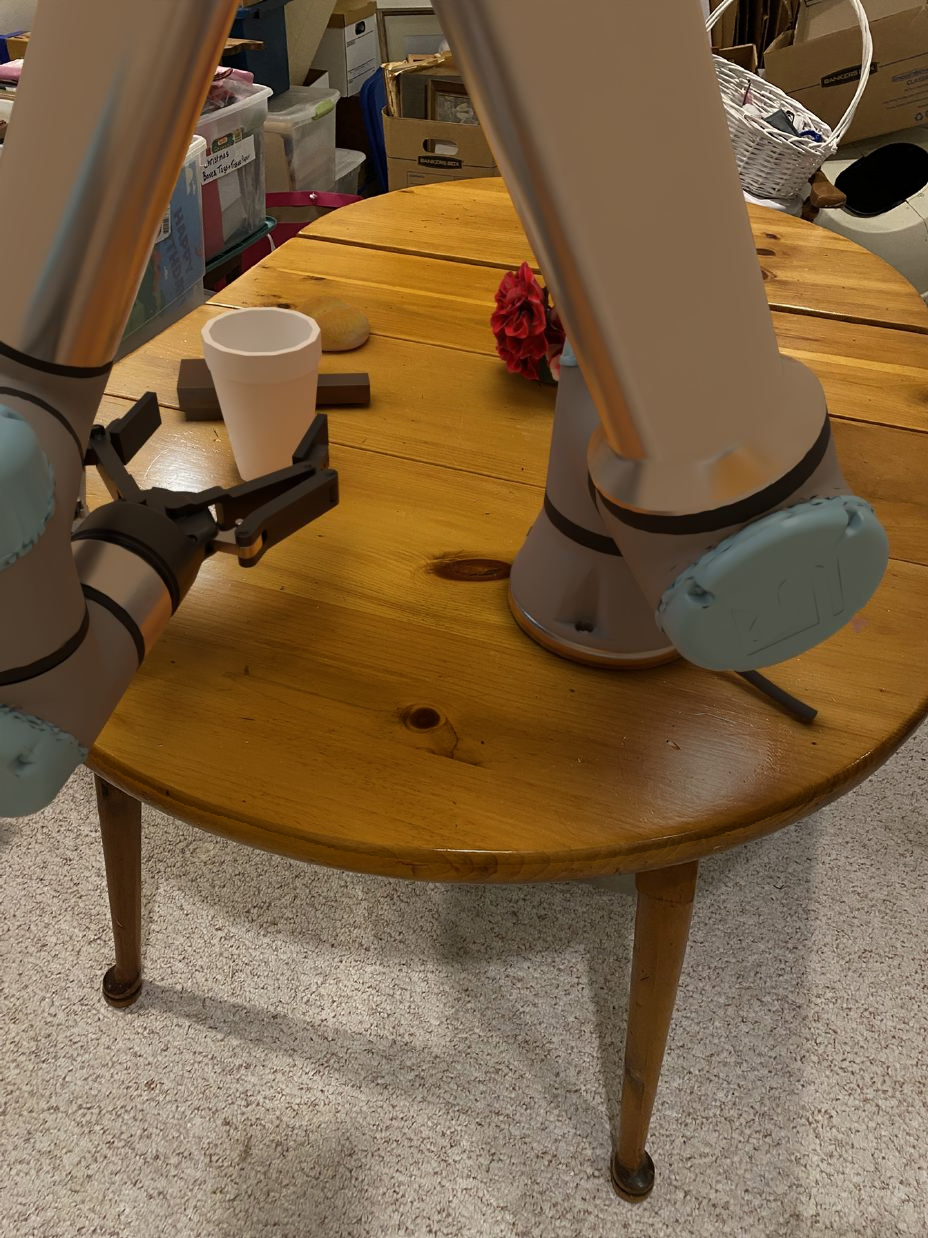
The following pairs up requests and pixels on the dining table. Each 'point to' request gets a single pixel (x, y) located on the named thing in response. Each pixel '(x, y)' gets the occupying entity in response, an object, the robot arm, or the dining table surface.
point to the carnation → (527, 327)
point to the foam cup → (264, 382)
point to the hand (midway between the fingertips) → (238, 417)
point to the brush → (204, 403)
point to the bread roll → (336, 322)
